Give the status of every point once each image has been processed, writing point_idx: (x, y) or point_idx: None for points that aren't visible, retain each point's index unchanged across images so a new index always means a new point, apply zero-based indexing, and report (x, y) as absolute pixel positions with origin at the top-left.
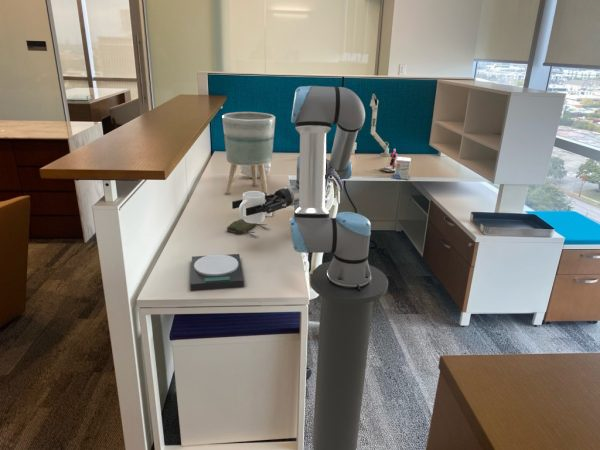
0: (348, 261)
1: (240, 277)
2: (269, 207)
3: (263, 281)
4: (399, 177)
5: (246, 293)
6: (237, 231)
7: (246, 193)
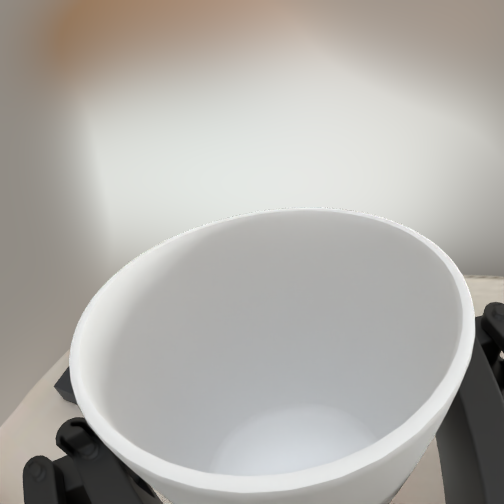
0: None
1: (68, 385)
2: (25, 476)
3: (49, 447)
4: None
5: (42, 393)
6: None
7: (393, 246)
